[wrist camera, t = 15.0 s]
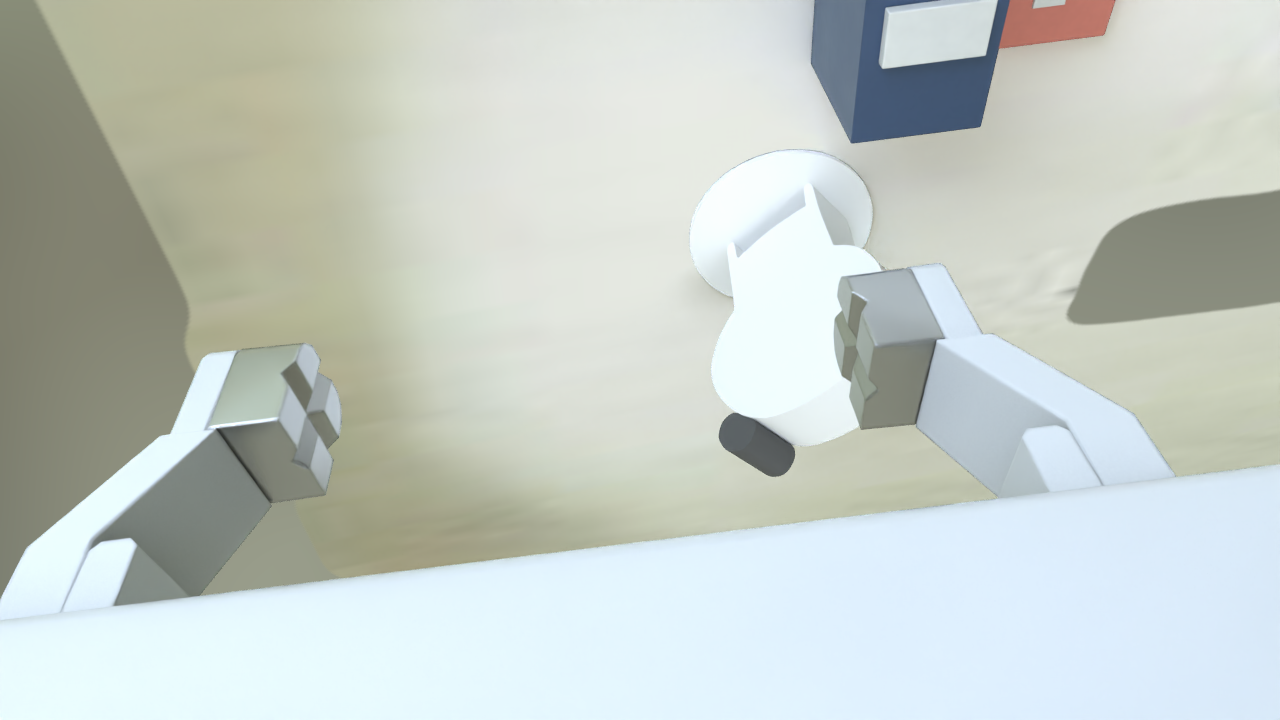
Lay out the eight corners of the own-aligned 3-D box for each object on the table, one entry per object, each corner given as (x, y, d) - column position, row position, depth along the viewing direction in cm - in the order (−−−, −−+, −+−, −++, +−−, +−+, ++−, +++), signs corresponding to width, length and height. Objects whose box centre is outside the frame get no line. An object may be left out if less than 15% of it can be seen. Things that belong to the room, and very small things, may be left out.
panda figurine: (756, 329, 57) (805, 511, 46) (643, 242, 50) (670, 429, 40) (905, 225, 51) (998, 404, 41) (799, 112, 45) (877, 290, 34)
